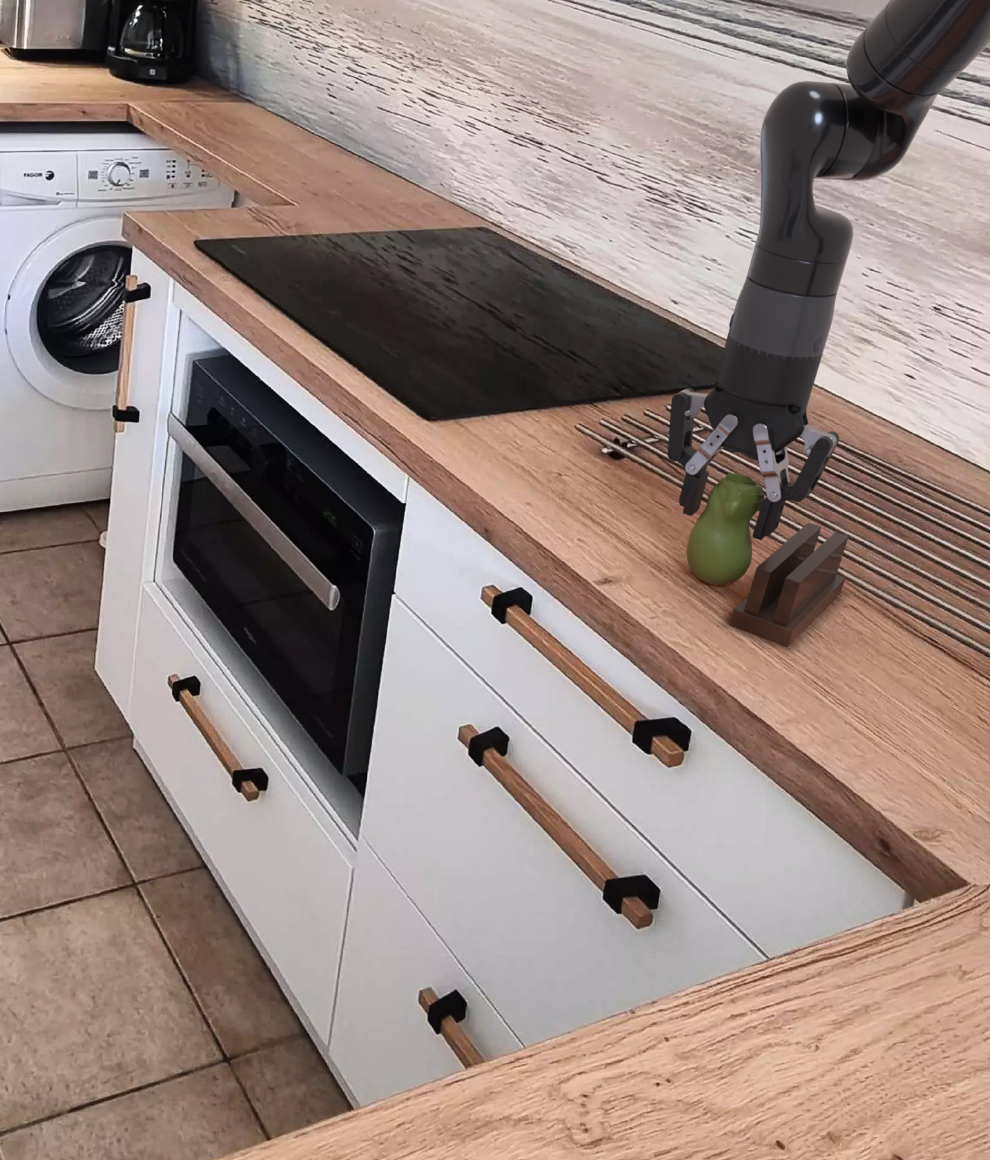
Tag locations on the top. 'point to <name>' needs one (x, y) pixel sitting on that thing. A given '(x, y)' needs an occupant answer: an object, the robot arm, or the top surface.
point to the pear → (725, 531)
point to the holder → (792, 587)
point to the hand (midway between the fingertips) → (724, 523)
